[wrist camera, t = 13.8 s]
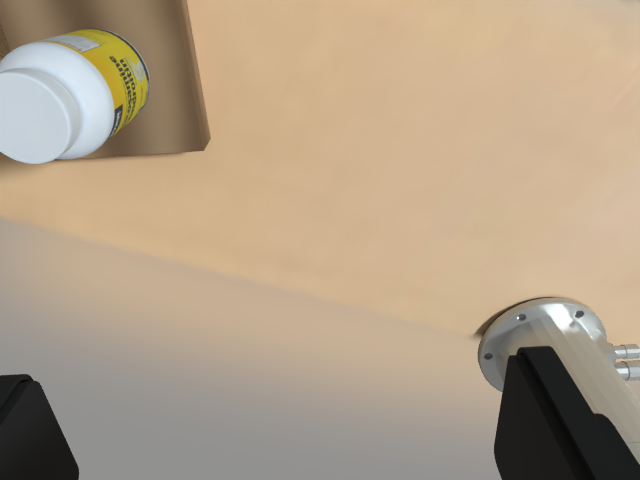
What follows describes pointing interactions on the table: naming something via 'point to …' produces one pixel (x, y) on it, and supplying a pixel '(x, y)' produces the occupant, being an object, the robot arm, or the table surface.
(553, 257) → the table surface
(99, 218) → the table surface
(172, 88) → the walnut block
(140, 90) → the pill bottle
